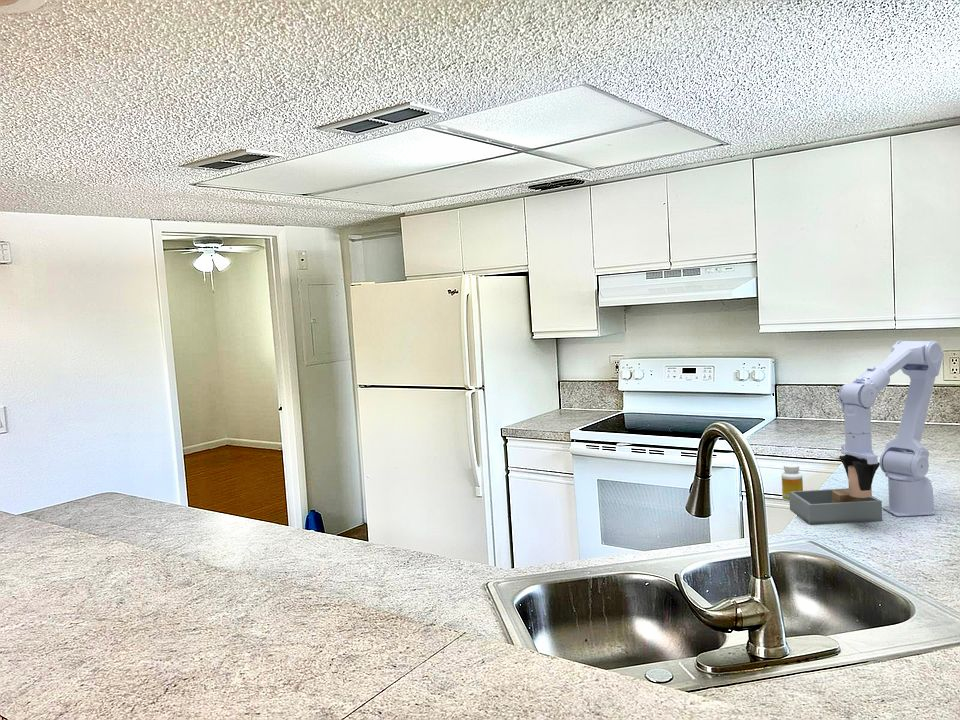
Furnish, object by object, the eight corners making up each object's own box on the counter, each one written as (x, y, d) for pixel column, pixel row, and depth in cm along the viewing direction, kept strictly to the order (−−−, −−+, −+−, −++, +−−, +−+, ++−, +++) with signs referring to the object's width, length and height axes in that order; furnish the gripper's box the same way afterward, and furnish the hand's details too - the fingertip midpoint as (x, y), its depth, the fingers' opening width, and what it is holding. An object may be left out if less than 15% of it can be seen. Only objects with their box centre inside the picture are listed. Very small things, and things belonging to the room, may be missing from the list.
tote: (857, 506, 200) (856, 487, 200) (882, 521, 186) (881, 501, 186) (789, 510, 201) (789, 491, 200) (810, 524, 187) (809, 505, 187)
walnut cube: (851, 508, 196) (851, 489, 195) (860, 513, 191) (859, 494, 190) (832, 509, 196) (831, 490, 196) (840, 514, 191) (839, 495, 191)
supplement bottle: (805, 502, 207) (803, 467, 206) (784, 502, 208) (783, 467, 207) (801, 497, 212) (799, 463, 212) (780, 497, 213) (779, 463, 213)
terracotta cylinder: (866, 492, 186) (865, 464, 186) (875, 497, 181) (874, 468, 181) (845, 493, 186) (844, 465, 186) (854, 498, 181) (853, 469, 181)
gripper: (828, 428, 190) (830, 481, 191) (855, 438, 176) (857, 495, 177) (856, 426, 190) (858, 479, 191) (885, 436, 175) (887, 493, 176)
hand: (859, 487), depth 184 cm, fingers closed on terracotta cylinder, 5 cm apart
